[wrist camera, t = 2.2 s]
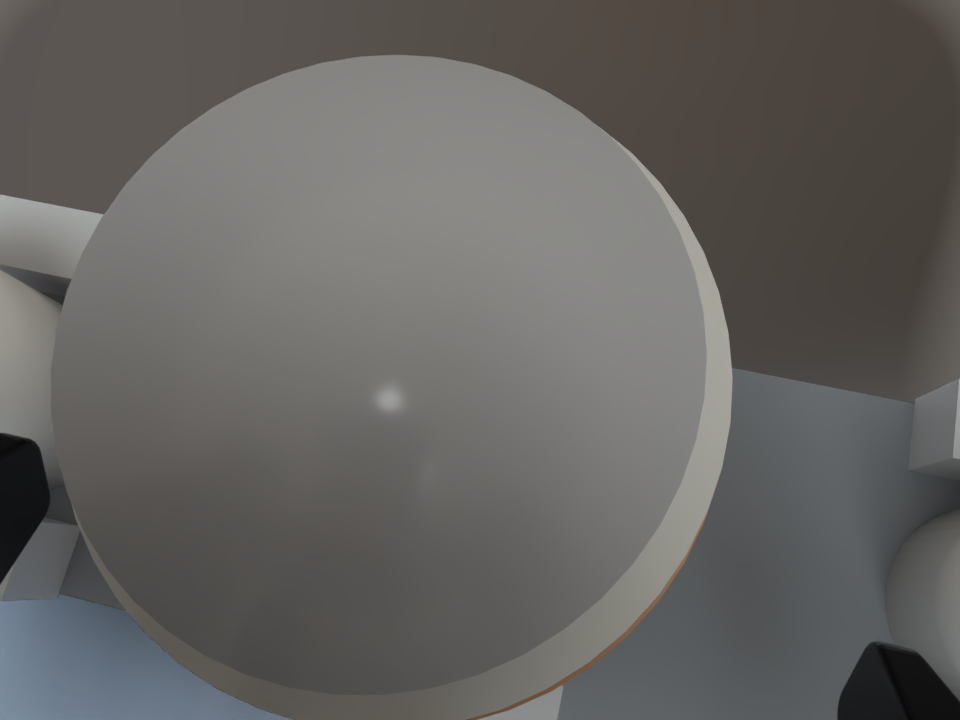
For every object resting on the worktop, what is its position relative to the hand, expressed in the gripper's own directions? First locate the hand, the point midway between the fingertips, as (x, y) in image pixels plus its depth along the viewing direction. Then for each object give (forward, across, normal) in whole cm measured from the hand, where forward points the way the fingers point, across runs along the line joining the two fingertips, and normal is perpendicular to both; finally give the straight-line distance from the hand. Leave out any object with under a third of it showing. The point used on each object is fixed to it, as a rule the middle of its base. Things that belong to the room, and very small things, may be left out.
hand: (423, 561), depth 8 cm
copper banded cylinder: (+7, 0, +5) cm, 8 cm away
